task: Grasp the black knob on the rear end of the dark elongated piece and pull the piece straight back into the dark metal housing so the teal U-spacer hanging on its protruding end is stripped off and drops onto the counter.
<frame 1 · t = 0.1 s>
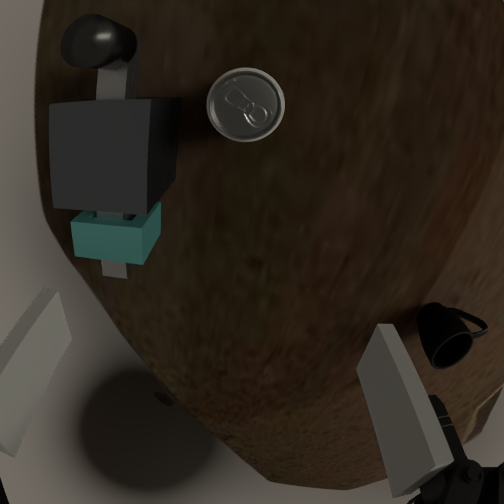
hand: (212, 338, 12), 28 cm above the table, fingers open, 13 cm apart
can: (246, 102, 33), on the table
mug: (438, 310, 48), on the table
spacer: (129, 215, 36), point 3 cm above the table, touching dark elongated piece
housing: (138, 137, 34), on the table
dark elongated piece: (101, 163, 25), point 10 cm above the table, slide at 0.0 cm, touching spacer
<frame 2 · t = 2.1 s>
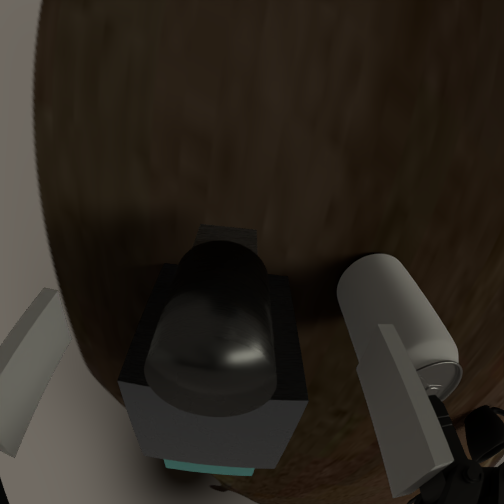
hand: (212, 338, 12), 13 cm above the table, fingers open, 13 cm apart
can: (369, 282, 26), on the table
mug: (483, 409, 41), on the table
spacer: (214, 401, 29), point 3 cm above the table, touching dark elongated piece
housing: (221, 317, 28), on the table
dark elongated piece: (210, 425, 19), point 11 cm above the table, slide at 0.0 cm, touching spacer
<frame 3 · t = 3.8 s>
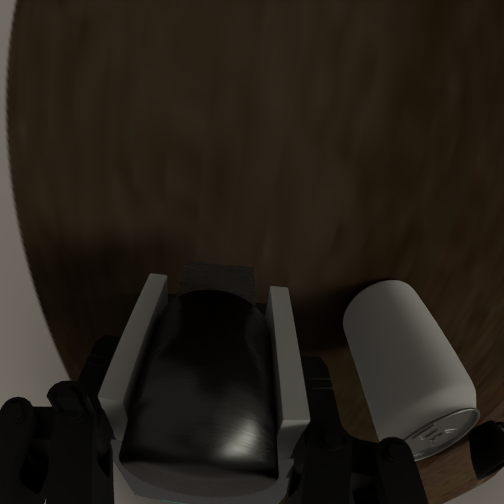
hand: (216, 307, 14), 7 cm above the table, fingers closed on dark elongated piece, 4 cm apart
can: (379, 309, 23), on the table
mug: (488, 424, 38), on the table
housing: (216, 348, 25), on the table
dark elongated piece: (205, 470, 16), point 11 cm above the table, slide at 0.0 cm, touching gripper, spacer
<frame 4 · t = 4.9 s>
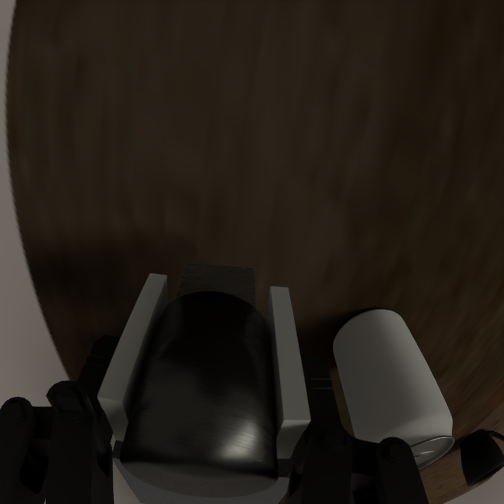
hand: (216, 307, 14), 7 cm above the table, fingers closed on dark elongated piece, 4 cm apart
can: (367, 334, 25), on the table
mug: (479, 432, 40), on the table
housing: (214, 368, 26), on the table
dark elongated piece: (205, 470, 16), point 10 cm above the table, slide at 2.6 cm, touching gripper
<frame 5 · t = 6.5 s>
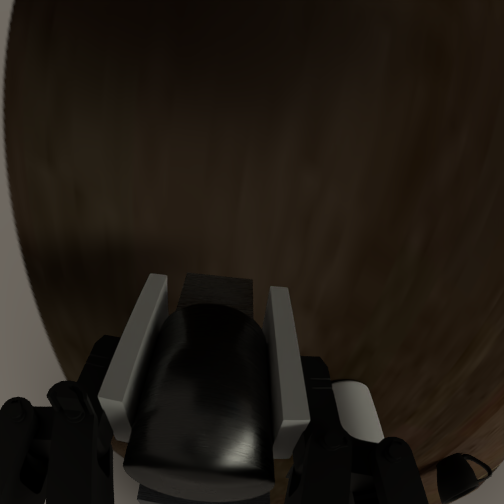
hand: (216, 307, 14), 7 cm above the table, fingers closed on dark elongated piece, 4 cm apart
can: (337, 396, 29), on the table
mug: (455, 455, 44), on the table
housing: (210, 419, 30), on the table
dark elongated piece: (204, 474, 16), point 10 cm above the table, slide at 10.6 cm, touching gripper
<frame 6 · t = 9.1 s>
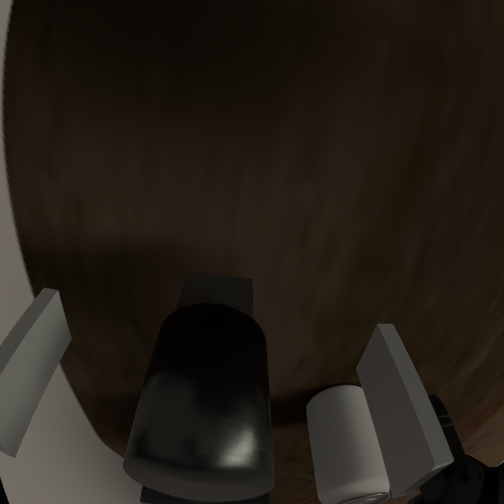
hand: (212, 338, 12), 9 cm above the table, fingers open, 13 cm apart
can: (336, 399, 29), on the table
housing: (211, 422, 30), on the table
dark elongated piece: (205, 473, 16), point 11 cm above the table, slide at 11.4 cm
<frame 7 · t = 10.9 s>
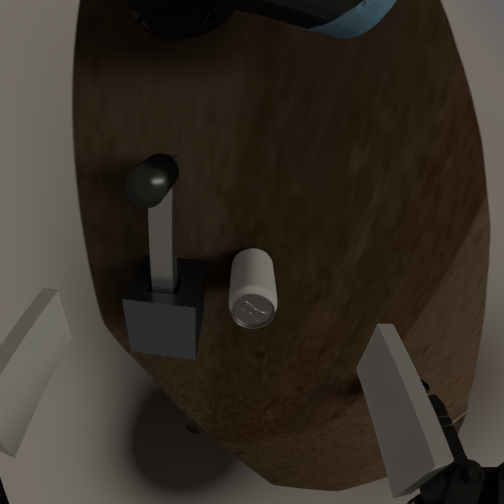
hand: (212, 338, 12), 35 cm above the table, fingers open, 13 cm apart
can: (252, 264, 51), on the table
housing: (175, 283, 52), on the table
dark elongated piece: (158, 261, 38), point 10 cm above the table, slide at 11.4 cm
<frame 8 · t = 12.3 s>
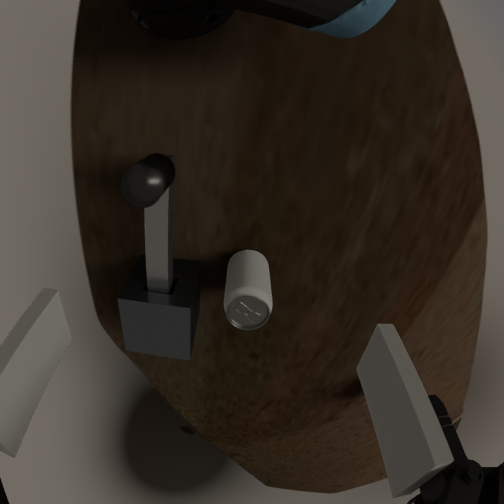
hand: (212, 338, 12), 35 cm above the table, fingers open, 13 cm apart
can: (248, 265, 51), on the table
housing: (171, 283, 52), on the table
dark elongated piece: (153, 261, 38), point 10 cm above the table, slide at 11.4 cm
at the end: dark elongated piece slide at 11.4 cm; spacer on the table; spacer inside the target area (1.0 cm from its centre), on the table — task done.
